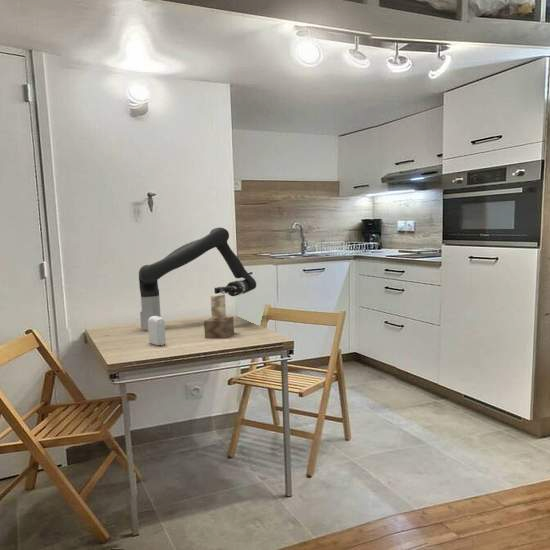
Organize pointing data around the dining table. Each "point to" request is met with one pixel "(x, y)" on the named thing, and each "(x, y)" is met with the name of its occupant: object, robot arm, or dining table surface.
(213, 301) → the maple block
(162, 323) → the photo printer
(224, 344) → the dining table surface
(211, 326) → the walnut block
